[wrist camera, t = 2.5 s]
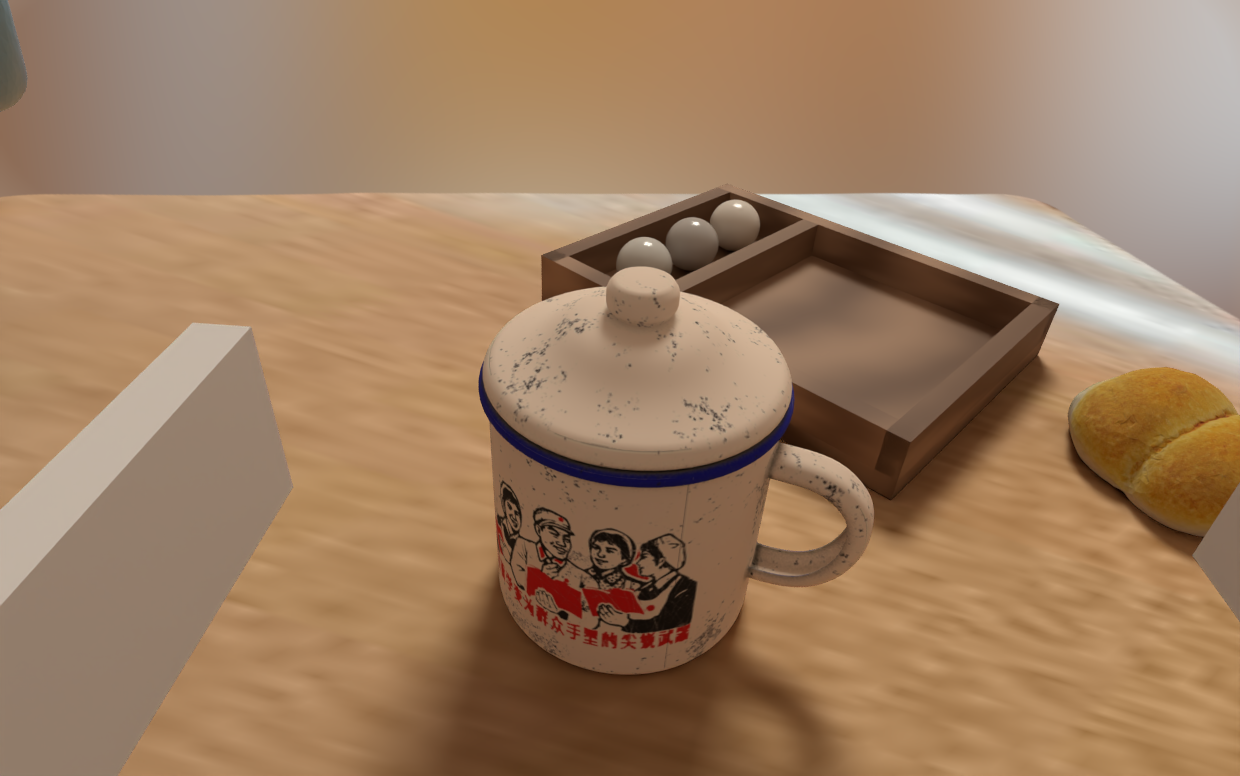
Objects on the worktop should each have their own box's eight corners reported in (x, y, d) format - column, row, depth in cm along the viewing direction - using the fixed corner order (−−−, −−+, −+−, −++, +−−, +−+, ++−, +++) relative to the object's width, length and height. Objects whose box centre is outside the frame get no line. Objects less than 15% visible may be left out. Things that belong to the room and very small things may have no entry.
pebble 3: (696, 247, 48) (701, 200, 46) (726, 233, 49) (732, 187, 48) (736, 264, 46) (743, 216, 44) (765, 249, 48) (773, 202, 46)
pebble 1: (603, 289, 43) (605, 238, 41) (640, 272, 44) (644, 222, 43) (644, 309, 41) (647, 257, 39) (681, 291, 43) (686, 240, 41)
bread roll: (1211, 579, 29) (1268, 500, 27) (1027, 435, 36) (1060, 362, 34) (1348, 524, 32) (1410, 449, 30) (1154, 400, 39) (1192, 330, 36)
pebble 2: (652, 267, 45) (656, 218, 43) (685, 252, 47) (690, 204, 45) (692, 285, 43) (698, 235, 42) (725, 269, 45) (732, 220, 44)
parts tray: (542, 305, 43) (541, 255, 41) (721, 226, 53) (727, 183, 51) (891, 500, 31) (910, 442, 30) (1038, 354, 41) (1059, 304, 39)
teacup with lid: (440, 626, 26) (399, 316, 19) (563, 460, 33) (564, 191, 26) (805, 772, 22) (914, 458, 15) (854, 553, 29) (945, 269, 22)
